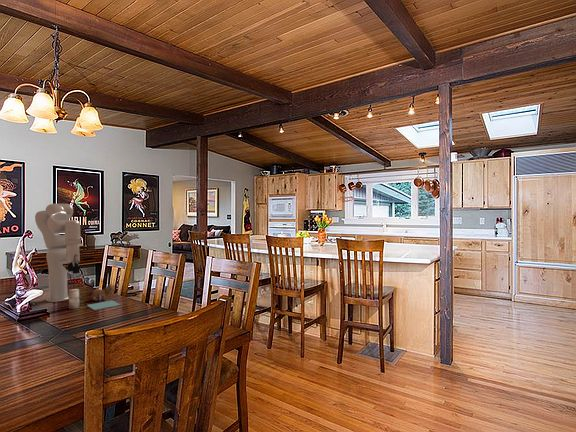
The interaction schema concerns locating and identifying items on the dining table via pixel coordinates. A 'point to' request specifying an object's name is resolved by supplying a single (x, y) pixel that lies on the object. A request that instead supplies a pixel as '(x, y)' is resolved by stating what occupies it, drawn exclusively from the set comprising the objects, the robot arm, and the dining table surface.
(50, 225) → the robot arm
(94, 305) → the card
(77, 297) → the tube
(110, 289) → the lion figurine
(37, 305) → the dining table surface
